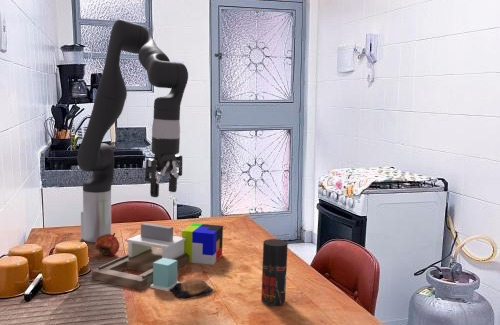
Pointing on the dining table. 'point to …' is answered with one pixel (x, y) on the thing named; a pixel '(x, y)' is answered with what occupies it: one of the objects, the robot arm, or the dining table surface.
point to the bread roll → (191, 289)
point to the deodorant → (274, 272)
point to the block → (165, 272)
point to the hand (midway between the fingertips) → (163, 194)
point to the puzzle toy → (203, 243)
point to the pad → (163, 287)
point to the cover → (156, 241)
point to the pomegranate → (107, 245)
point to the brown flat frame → (139, 263)
